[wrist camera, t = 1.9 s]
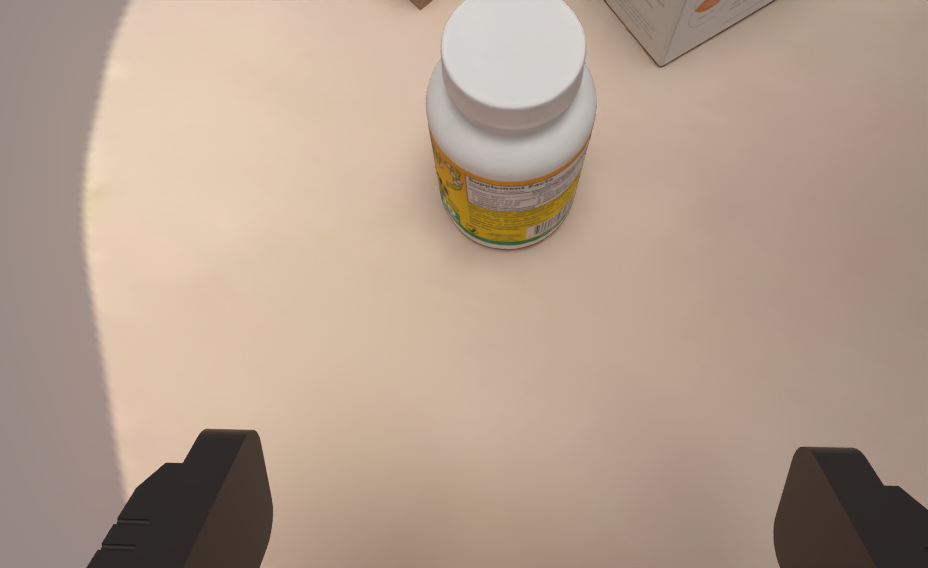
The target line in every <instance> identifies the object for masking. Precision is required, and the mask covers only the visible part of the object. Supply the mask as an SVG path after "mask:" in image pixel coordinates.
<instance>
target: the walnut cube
mask: <svg viewBox="0 0 928 568" xmlns="http://www.w3.org/2000/svg"><path fill="white" fill-rule="evenodd" d="M410 1H411V2H412V3H413V4H414V5H415V6H416V7H417V8H419V9H420V10H421V9H423V8H424V7H425V6H426V5H428V4H429V3H430V2H431V1H432V0H410Z"/></svg>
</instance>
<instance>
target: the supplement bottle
mask: <svg viewBox="0 0 928 568" xmlns="http://www.w3.org/2000/svg"><path fill="white" fill-rule="evenodd" d="M585 57H586V39H585V34H584V30H583V28H582V25H581V23H580V21H579V19H578V17H577V16H576V14H575V13H574V12H573V10H572V9H571V8H570V7H569V6H568V5H567V4H566V3H565V2H563V1H562V0H465V1H464V2H463V3H461V4H460V5H459V6H458V7H457V8H456V9H455V11H454V12H453V13H452V15H451V16H450V18H449V20H448V22H447V24H446V26H445V28H444V31H443V35H442V40H441V59H440V60H439V62H438V63H437V65H436V67H435V68H434V71H433V73H432V75H431V78H430V81H429V84H428V88H427V95H426V113H427V120H428V126H429V131H430V136H431V142H432V148H433V153H434V159H435V164H436V170H437V176H438V182H439V187H440V193H441V197H442V201H443V204H444V206H445V209H446V211H447V212H448V214H449V216H450V217H451V219H452V220H453V222H454V223H455V225H456V226H457V227H458V228H459V229H460V230H461V231H462V232H463V233H464V234H465V235H466V236H468V237H469V238H470V239H472V240H473V241H475V242H477V243H479V244H482V245H485V246H489V247H493V248H499V249H516V248H522V247H526V246H529V245H532V244H535V243H537V242H539V241H541V240H543V239H544V238H546V237H547V236H549V235H550V234H551V233H552V232H554V231H555V230H556V229H557V228H558V227H559V226H560V224H561V223H562V222H563V220H564V219H565V217H566V216H567V214H568V212H569V210H570V208H571V205H572V202H573V199H574V196H575V193H576V188H577V184H578V180H579V177H580V173H581V169H582V165H583V161H584V158H585V154H586V151H587V147H588V144H589V140H590V137H591V133H592V129H593V125H594V121H595V116H596V107H597V99H596V90H595V85H594V81H593V78H592V75H591V73H590V71H589V69H588V67H587V65H586V63H585Z"/></svg>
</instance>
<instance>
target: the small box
mask: <svg viewBox="0 0 928 568" xmlns="http://www.w3.org/2000/svg"><path fill="white" fill-rule="evenodd" d="M605 1H606V2H607V4H608V5H609V6H610V7H611V8H612V10H613V11H614V12H615V13H616V15H617V16H618V17H619V18H620V19H621V21H622V22H623V23H624V24H625V26H626V27H627V28H628V29H629V31H630V32H631V33H632V34H633V35H634V37H635V38H636V39H637V40H638V41H639V43H640V44H641V45H642V46H643V47H644V49H645V50H646V51H647V52H648V53H649V54H650V56H651V57H652V58H653V59H654V60H655V62H656V63H657V64H658V65H660V66H663V65H665V64H667V63H668V62H670V61H672V60H673V59H675V58H677V57H679V56H680V55H682V54H684V53H685V52H687V51H689V50H690V49H692V48H694V47H696V46H697V45H699V44H701V43H702V42H704V41H706V40H707V39H709V38H711V37H712V36H714V35H716V34H717V33H719V32H721V31H722V30H724V29H726V28H728V27H729V26H731V25H733V24H734V23H736V22H738V21H740V20H741V19H743V18H745V17H746V16H748V15H750V14H751V13H753V12H755V11H756V10H758V9H760V8H761V7H763V6H765V5H766V4H768V3H770V2H771V1H773V0H605Z"/></svg>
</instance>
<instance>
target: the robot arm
mask: <svg viewBox="0 0 928 568" xmlns="http://www.w3.org/2000/svg"><path fill="white" fill-rule="evenodd" d="M272 521H273V504H272V498H271V492H270V487H269V482H268V477H267V472H266V467H265V461H264V456H263V451H262V446H261V441H260V437H259V435H258V433H257V432H256V431H255V430H233V429H205V430H203V431H202V432H201V433H200V434H199V436H198V437H197V439H196V441H195V443H194V444H193V446H192V448H191V450H190V451H189V453H188V455H187V457H186V458H185V460H184V462H183V463H165V464H164V465H163V466H161V467H160V468H159V469H158V470H157V471H156V472H154V473H153V474H152V475H151V476H150V477H149V478H147V479H146V480H145V481H144V482H143V483H142V484H140V485H139V486H138V487H137V488H136V489H135V491H134V492H133V494H132V496H131V497H130V499H129V500H128V502H127V504H126V505H125V507H124V508H123V510H122V512H121V513H120V515H119V517H118V521H117V524H113V526H112V528H111V529H110V531H109V532H108V534H107V536H106V537H105V539H104V541H103V542H102V548H101V550H97V552H96V553H95V555H94V557H93V558H92V560H91V562H90V563H89V565H88V566H87V568H260V565H261V562H262V560H263V557H264V554H265V551H266V549H267V546H268V543H269V539H270V534H271V529H272ZM773 533H774V546H775V552H776V556H777V560H778V563H779V566H780V568H928V510H927V509H926V508H925V507H924V506H922V505H921V504H920V503H919V502H917V501H916V500H915V499H914V498H913V497H911V496H910V495H909V494H908V493H907V492H905V491H904V490H903V489H902V488H900V487H899V486H884V485H883V483H882V482H881V480H880V479H879V477H878V476H877V474H876V473H875V471H874V470H873V468H872V467H871V465H870V463H869V462H868V460H867V459H866V457H865V456H864V455H863V454H862V453H861V452H860V451H859V450H857V449H855V448H836V447H800V448H798V449H797V450H796V452H795V454H794V456H793V459H792V462H791V466H790V469H789V472H788V476H787V479H786V483H785V486H784V490H783V493H782V496H781V500H780V503H779V507H778V510H777V513H776V517H775V521H774V532H773Z"/></svg>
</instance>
